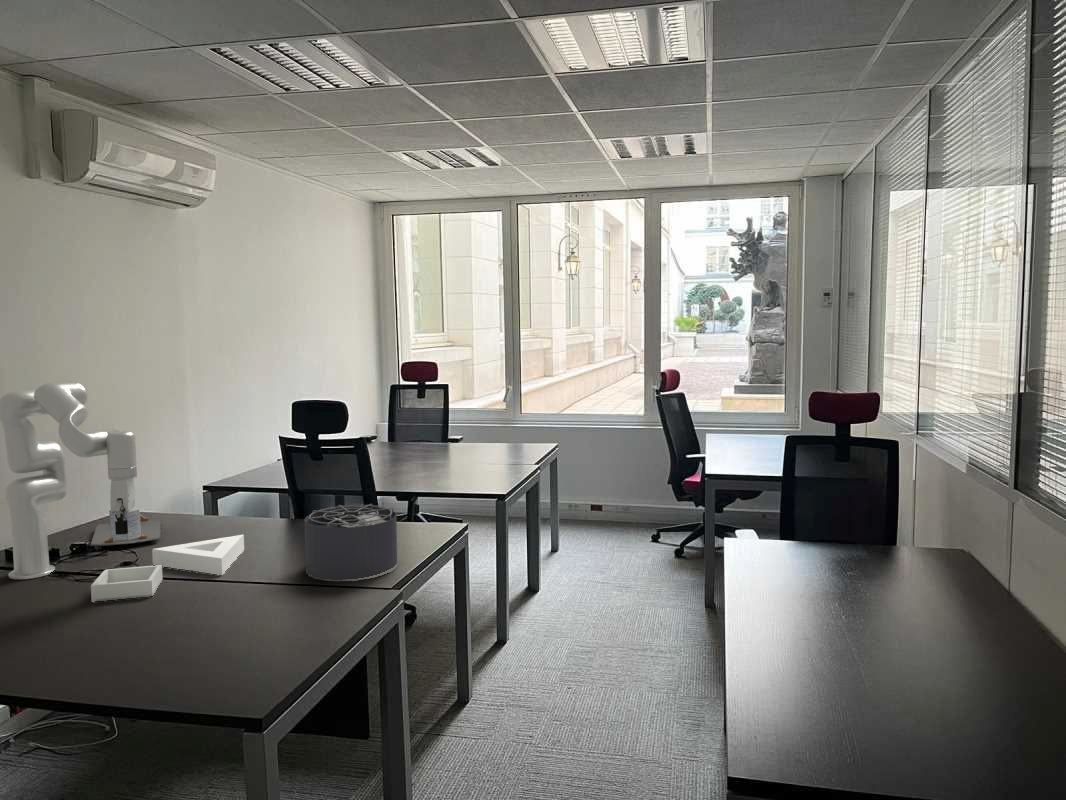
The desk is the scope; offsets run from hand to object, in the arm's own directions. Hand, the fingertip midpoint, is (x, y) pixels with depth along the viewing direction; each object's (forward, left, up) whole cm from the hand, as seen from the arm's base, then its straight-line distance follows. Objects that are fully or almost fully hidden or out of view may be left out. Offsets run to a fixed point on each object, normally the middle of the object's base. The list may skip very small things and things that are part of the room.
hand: (125, 530), depth 228 cm
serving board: (-70, -15, -19) cm, 74 cm away
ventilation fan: (-4, +66, -19) cm, 69 cm away
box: (0, 0, -19) cm, 19 cm away
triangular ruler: (-27, +22, -20) cm, 40 cm away
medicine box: (0, 0, -2) cm, 2 cm away
